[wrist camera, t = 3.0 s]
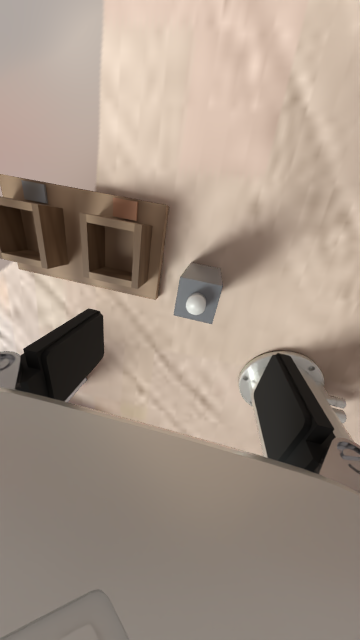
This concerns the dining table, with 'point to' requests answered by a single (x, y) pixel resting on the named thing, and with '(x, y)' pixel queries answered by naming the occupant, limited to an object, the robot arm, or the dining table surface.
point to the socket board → (83, 235)
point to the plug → (198, 293)
